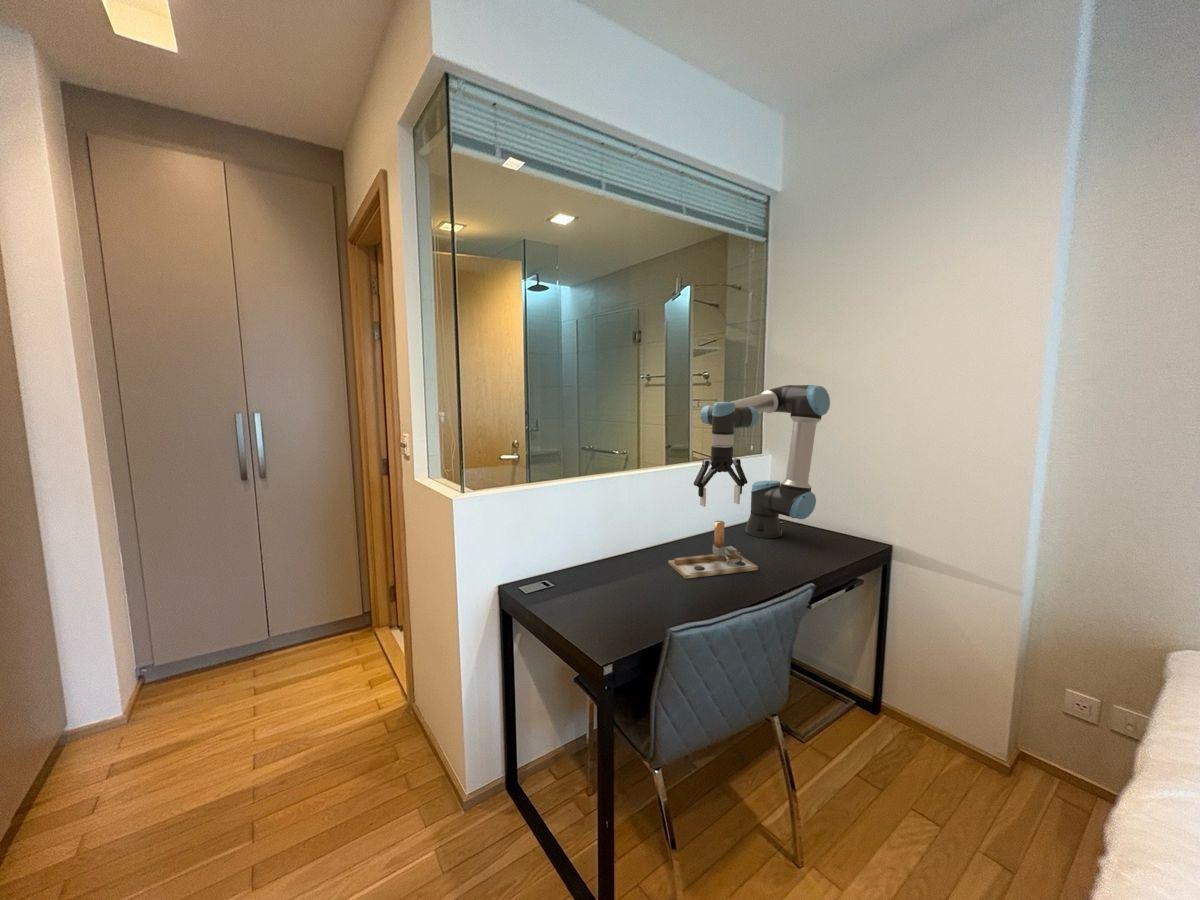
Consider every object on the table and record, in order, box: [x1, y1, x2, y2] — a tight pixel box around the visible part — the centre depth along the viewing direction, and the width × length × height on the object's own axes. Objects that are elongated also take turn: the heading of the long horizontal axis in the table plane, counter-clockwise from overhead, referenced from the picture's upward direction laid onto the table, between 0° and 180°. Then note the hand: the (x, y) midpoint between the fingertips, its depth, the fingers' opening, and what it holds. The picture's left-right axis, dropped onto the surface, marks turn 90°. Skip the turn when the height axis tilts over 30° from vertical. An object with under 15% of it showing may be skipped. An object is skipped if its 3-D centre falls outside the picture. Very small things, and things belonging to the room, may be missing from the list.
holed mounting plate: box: [667, 545, 759, 580], centre depth 170 cm, size 28×14×5 cm, turn 106°
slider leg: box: [712, 520, 730, 564], centre depth 171 cm, size 3×9×13 cm, turn 16°
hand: (719, 504), depth 171 cm, fingers open, 13 cm apart
